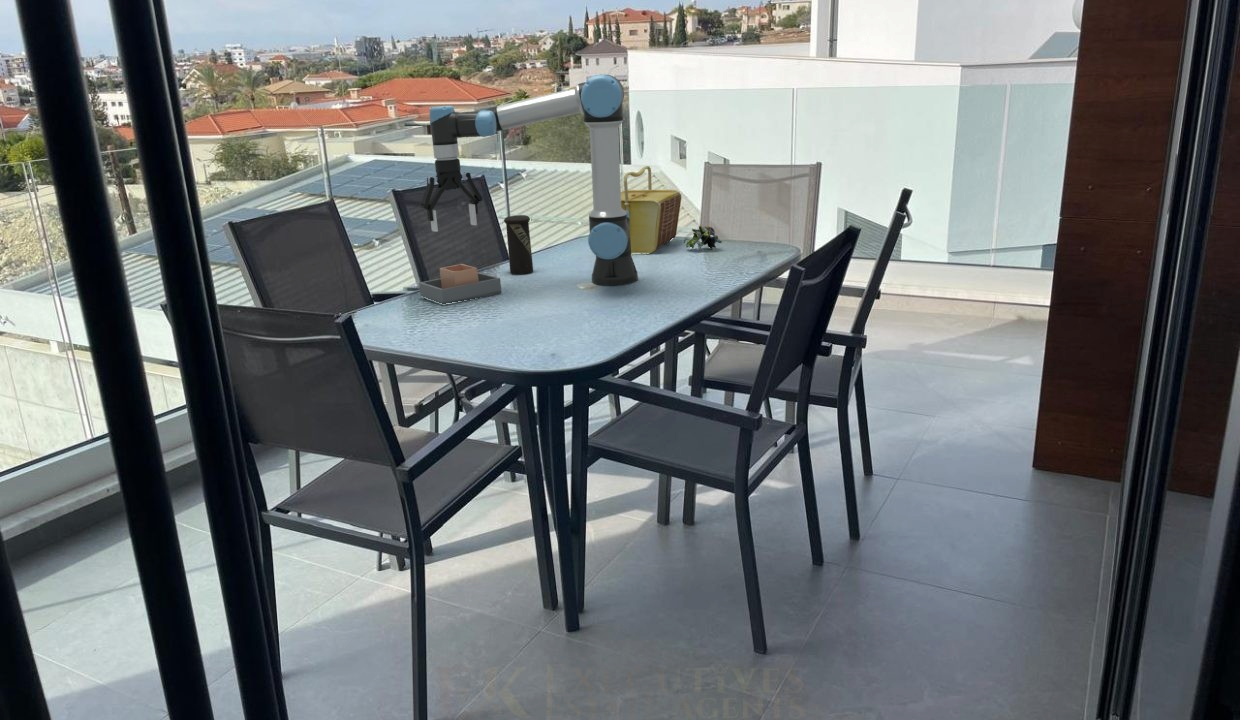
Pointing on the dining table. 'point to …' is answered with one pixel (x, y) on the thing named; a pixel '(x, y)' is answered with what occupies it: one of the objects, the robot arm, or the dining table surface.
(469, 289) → the grey tray
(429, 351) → the dining table surface
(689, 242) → the passion flower
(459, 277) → the small crate
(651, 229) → the picnic basket
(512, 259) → the container
